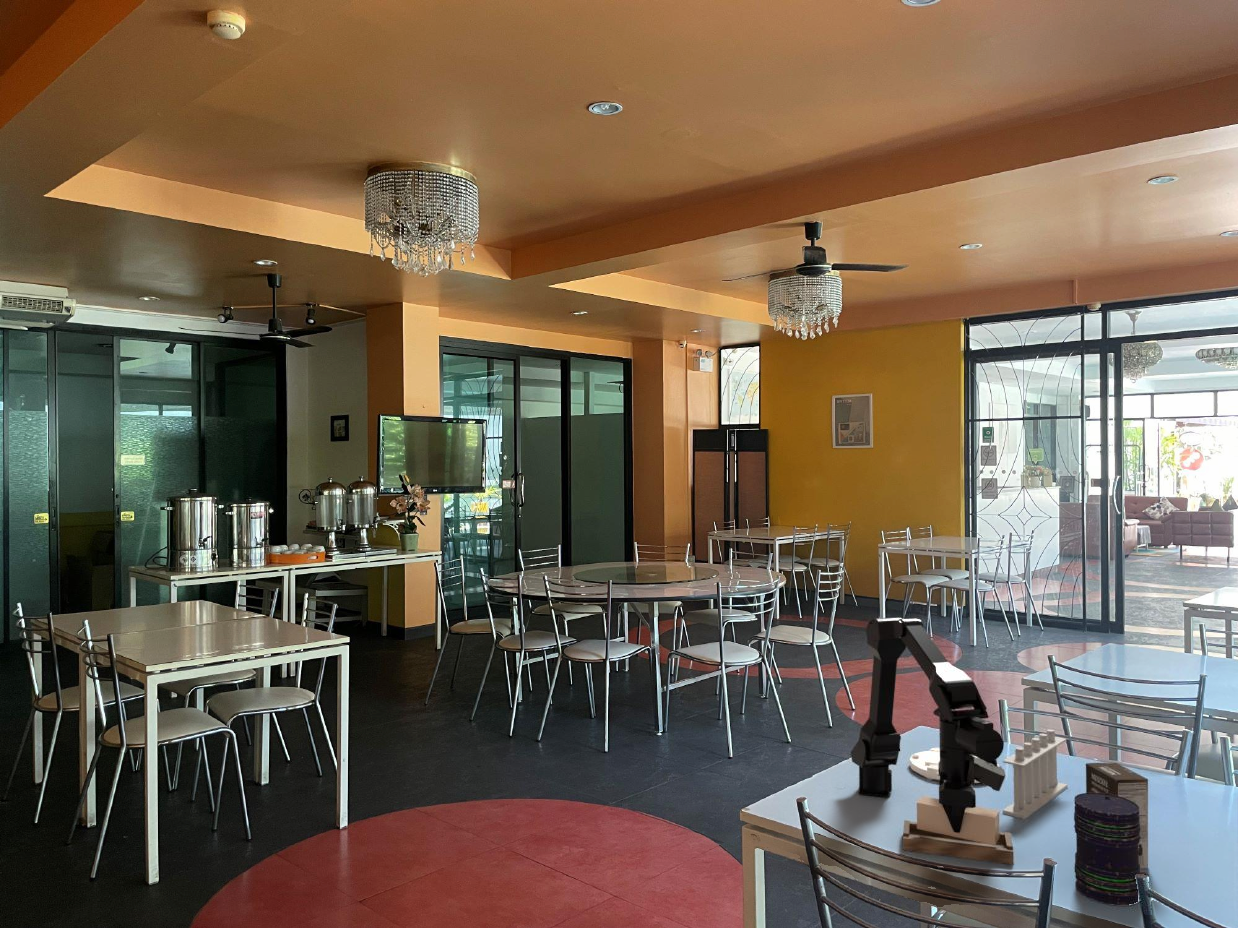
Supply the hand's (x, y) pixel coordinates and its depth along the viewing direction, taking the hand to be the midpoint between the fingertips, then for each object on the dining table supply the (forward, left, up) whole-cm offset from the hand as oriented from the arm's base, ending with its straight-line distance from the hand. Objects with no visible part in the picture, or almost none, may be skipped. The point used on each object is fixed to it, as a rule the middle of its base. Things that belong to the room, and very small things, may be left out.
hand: (956, 827), depth 167 cm
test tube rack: (+17, +31, -4) cm, 36 cm away
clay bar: (0, 0, -1) cm, 1 cm away
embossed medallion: (+1, +45, -4) cm, 46 cm away
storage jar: (+24, -11, -4) cm, 26 cm away
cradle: (0, 0, -4) cm, 4 cm away
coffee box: (+28, +4, -4) cm, 28 cm away
